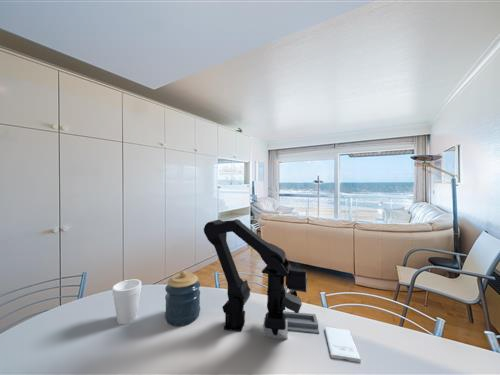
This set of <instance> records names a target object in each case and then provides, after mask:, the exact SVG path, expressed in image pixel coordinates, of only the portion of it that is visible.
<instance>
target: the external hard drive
mask: <svg viewBox="0 0 500 375" xmlns="http://www.w3.org/2000/svg"><path fill="white" fill-rule="evenodd" d="M324 334H325V336H326V341H327V346H328V350H329V355H330V358H332V359H338V360H346V361H350V362H357V363H361V362H362V361H361V356H360V355H359V351H358V349H357V346H356V345H355V342H354V339H353V337H352V334H351V332H350V330H349V329H345V328H344V329H343V328H336V327H330V326H324Z"/></svg>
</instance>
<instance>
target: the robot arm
mask: <svg viewBox="0 0 500 375" xmlns="http://www.w3.org/2000/svg"><path fill="white" fill-rule="evenodd" d="M231 232H232V233H233V234H235V235H236V236H237V237H238V238H240V239H241V240H242V241H243V242H244V243H245V244H247V245H248V246H249V247H250V248H252V249H253V250H255V251H256V252H257V254H259V256H260V258H261V259H262V261H263V262H264V263H265V265H266V266H265V267H263V269H262V270H261V274H267V291H266V296H267V298H266V299H267V303H266V308H267V312H266V313H265V315H264V316H265V317H264V318H265V327H266V328H269V329H271V330H272V332H273V334H274V335H277V333H278V329H279V330H285V329H286V321H285V315H284V314H283V311H286V309H288V310H290V311H291V312H295V313H300V310H301V307H302V305H303V303H302V299H301V297H300V296H299V295H298V292H302V293H308V292H307V291H308V274H307V269H301V268H299V269H298V268H297V269H296V268H292V264H291V263H290V262H289V260H288V259H287V255H286V252H285V250H283V249H282V248H280V247H279V246H277V245H275V244H273V243H269V242H268V241H266V240H264V239H263V237H260V236H259V235H258V234H256V233H255V232H254V231H253V230H252V229H250V228H249V227H248V226H247V225H246V224H244V223H243V222H242V221H241V220H240V219H230V220H224V221H223V220H221V219H215V220H211V221H208V222H206V223H205V225H204V227H203V233H204V235H205V237H206V239H207V241H208V242H209V243H210V244H211V245H213V247H214V249H215V252H216V255H217V257H218V258H217V259H218V260H219V263H220V266H221V268H222V271H223V275H224V277H225V280H226V283H227V290H226V291H227V301H226V302H225V303H224V305H223V306H222V311H223V313H224V315H225V316H224V320H225V322H224V326H223V330H226V331H229V330H230V331H236V332H242V330H243V328H244V326H245V324H246V310H245V309H244V306H245V305H246V303H247V301H248V300H249V298H250V296H251V290H252V289H251V288H250V286H249V283H248V280H247V279H245V280H243V279H242V278H241V277H240V275H239V272H238V269H237V265H236V264H235V261H234V258H233V255H232V253H231V250H230V247H229V245H228V241H227V234H228V233H231ZM285 286H286V287H285ZM286 289H288V290H290V291H288V292H287V291H286Z"/></svg>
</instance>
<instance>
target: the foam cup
mask: <svg viewBox="0 0 500 375" xmlns="http://www.w3.org/2000/svg"><path fill="white" fill-rule="evenodd" d="M142 289H143V288H142V281H141V280H140V279H136V278H135V279H134V278H133V279H131V278H130V279H126V280H122V281H119V282H118V283H115V284H113V287H112V296H113V300H114V301H113V302H114V307H115V309H114V310H115V313H116V315H115V316H116V320H117V324H119V325H126V324H130V323H133V322H134V321H135V320H136V319H137V317H138V310H139V305H140V298H141V297H140V296H141V290H142Z"/></svg>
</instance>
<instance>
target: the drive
mask: <svg viewBox="0 0 500 375" xmlns="http://www.w3.org/2000/svg"><path fill="white" fill-rule="evenodd" d="M285 321H286V329H285V330H279V329H278V333H277V335H274V334H273V332H272V330H271V329H269V328H266V327H265V317H264V318H263V337H267V338H275V339H285V340H288V337H289V336H288V332H289V330H288V322H287V320H285Z"/></svg>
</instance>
